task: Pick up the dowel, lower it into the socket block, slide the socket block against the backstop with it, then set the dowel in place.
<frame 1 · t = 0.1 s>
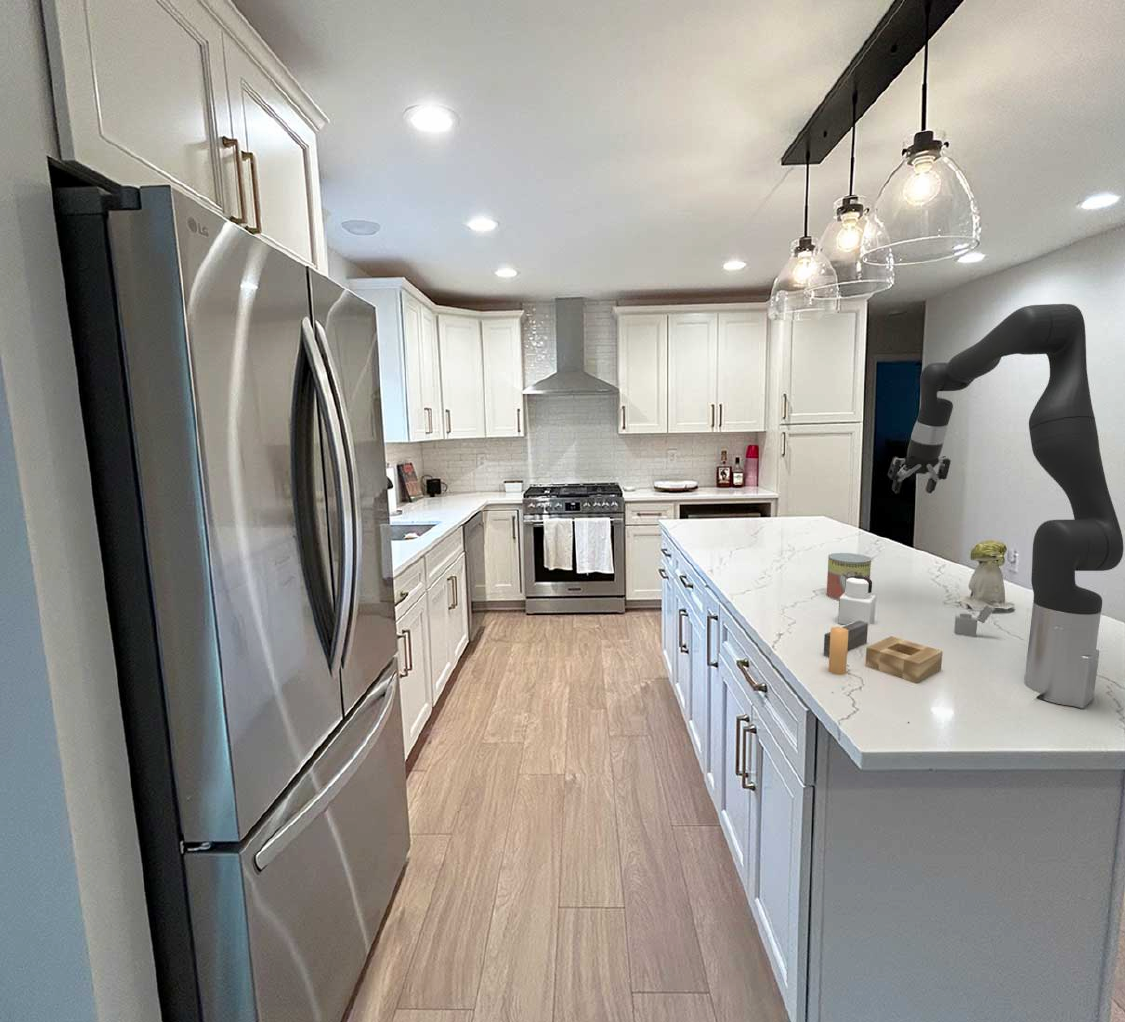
hand: (912, 492, 154), 31 cm above the countertop, tool tilted 20°, fingers open, 8 cm apart
lighter: (972, 636, 132), on the countertop
socket block: (903, 658, 113), point 3 cm above the countertop, slide at 0.0 cm
canned food: (847, 597, 164), on the countertop
mushroom: (984, 606, 153), on the countertop
dowel: (836, 676, 113), on the countertop
backstop: (882, 666, 117), on the countertop
medicine bottle: (856, 623, 142), on the countertop
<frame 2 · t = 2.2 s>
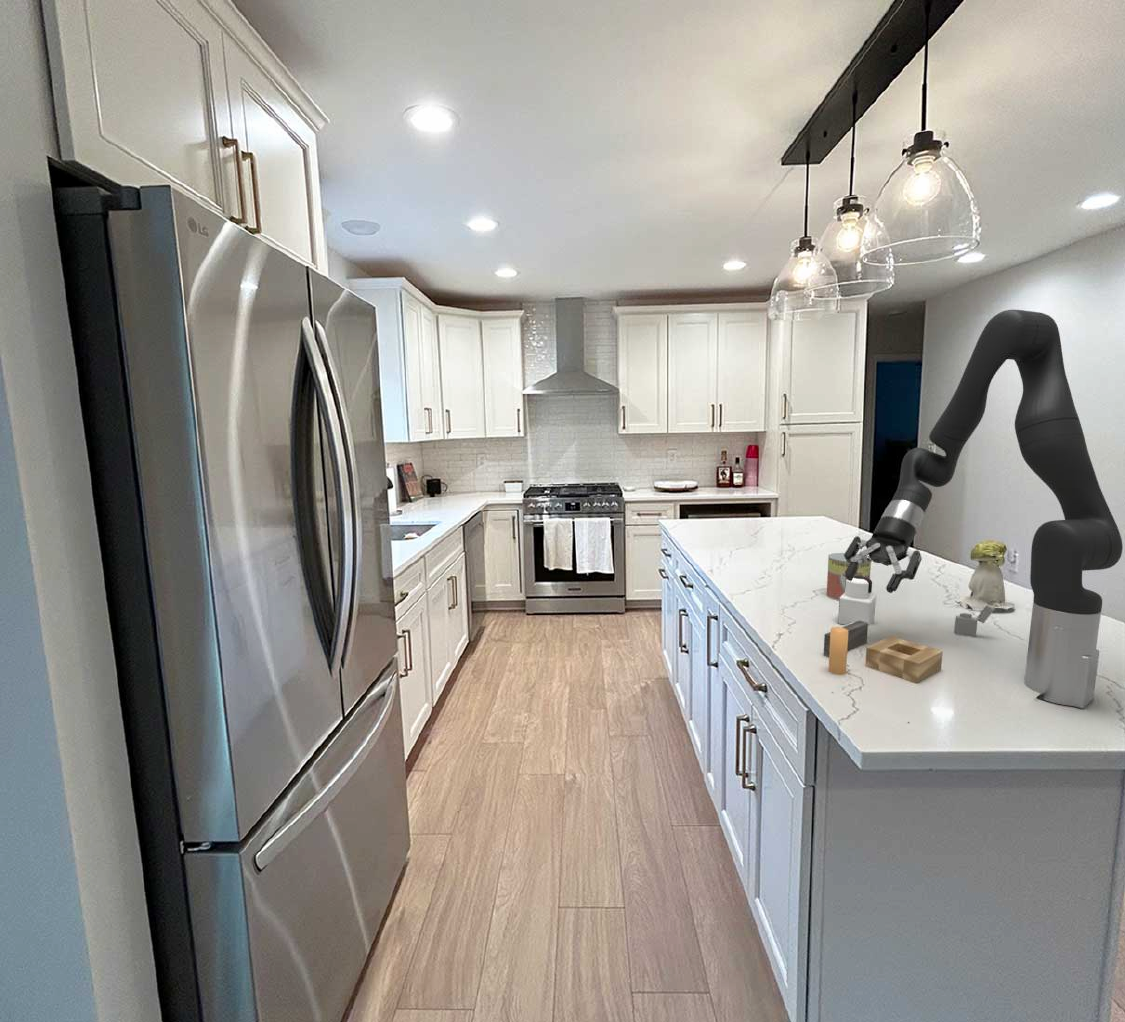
hand: (868, 584, 121), 16 cm above the countertop, tool tilted 40°, fingers open, 8 cm apart
nothing on the countertop moved.
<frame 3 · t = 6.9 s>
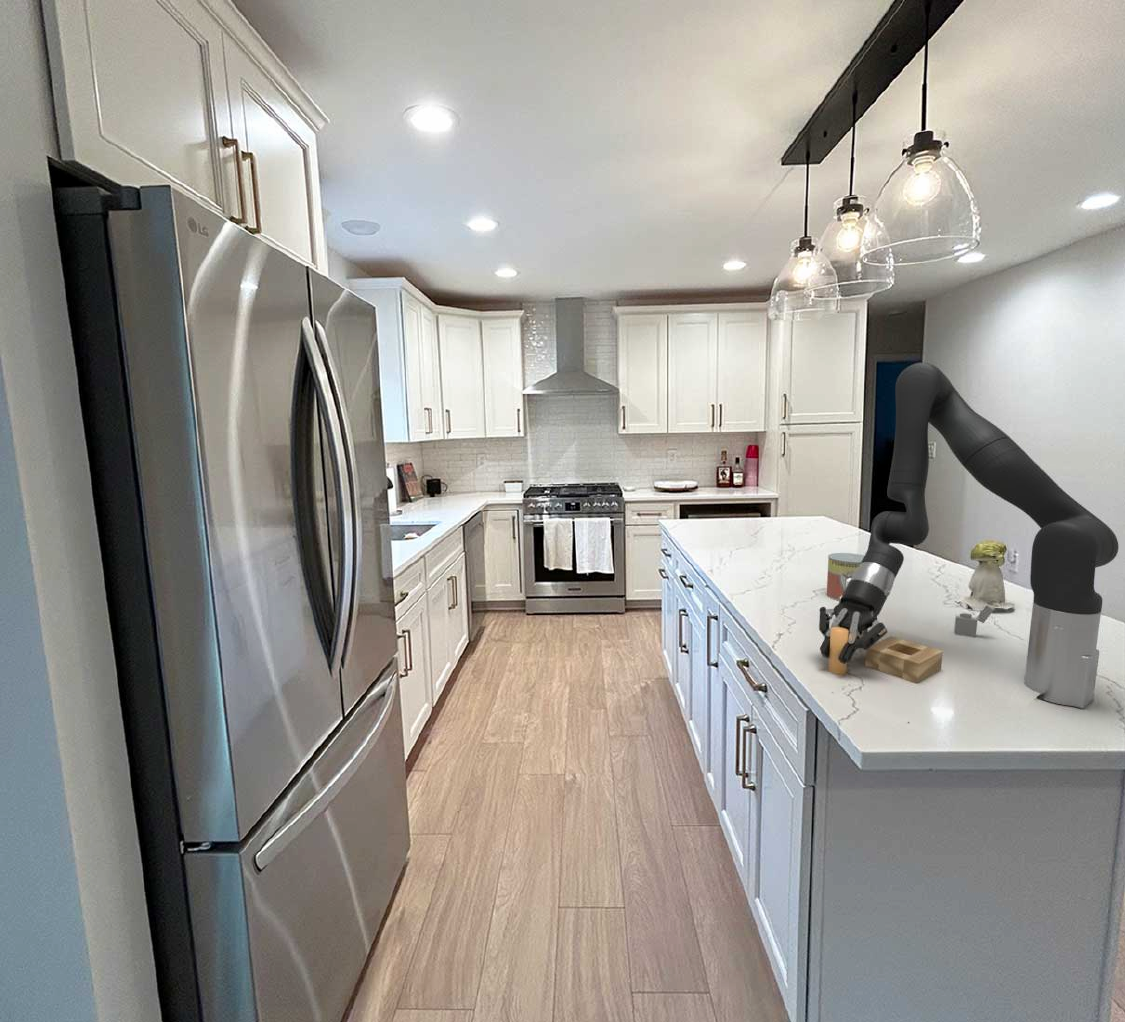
hand: (832, 658, 111), 4 cm above the countertop, tool tilted 45°, fingers closed on dowel, 3 cm apart
dowel: (837, 676, 113), on the countertop, touching gripper
everything else where it was.
when the fingers open (7 cm above the countertop, at t = 14.6 s): dowel stays where it is, resting on socket block.
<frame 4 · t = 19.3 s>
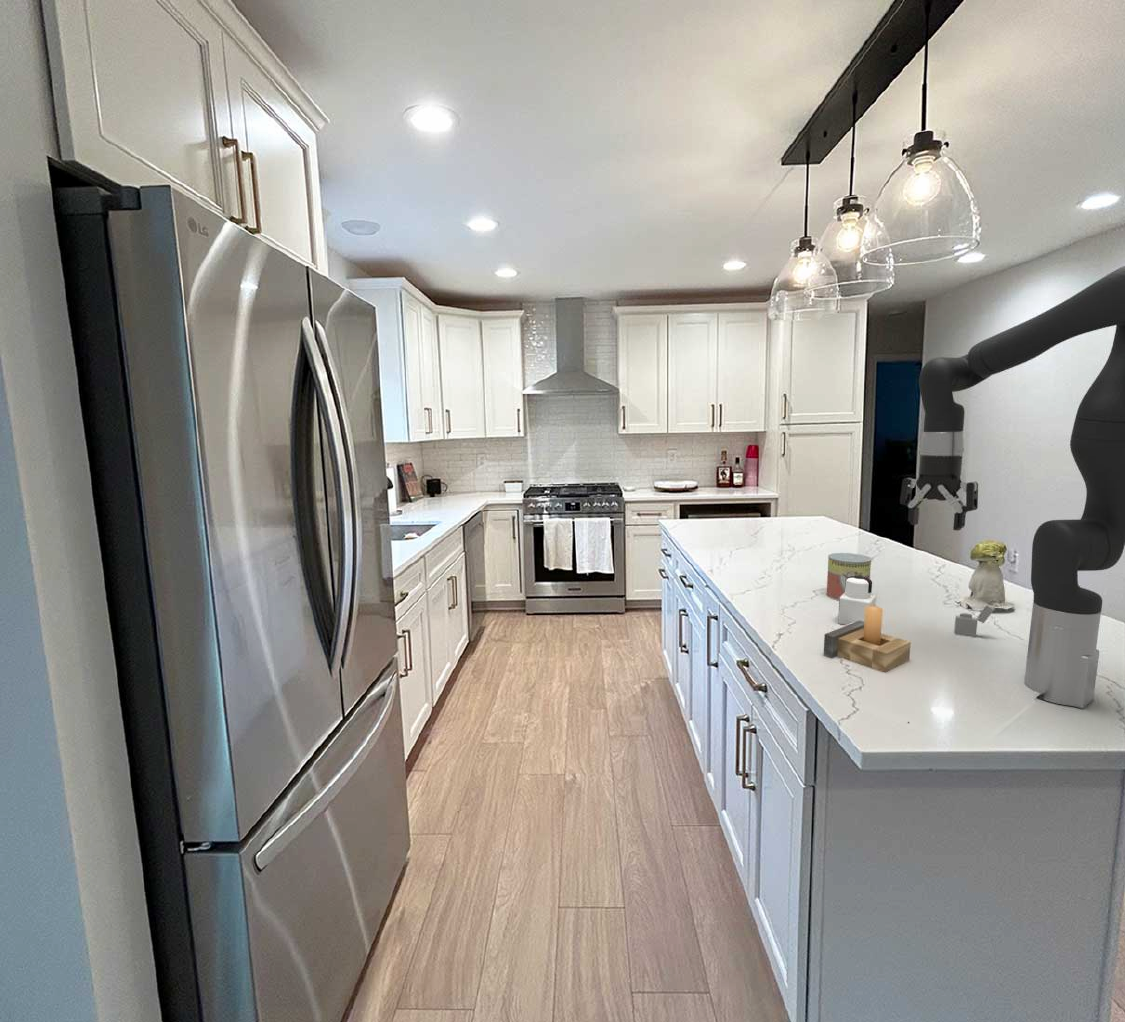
hand: (935, 527, 121), 28 cm above the countertop, tool pointing down, fingers open, 8 cm apart
socket block: (873, 649, 118), point 3 cm above the countertop, slide at 6.0 cm, touching dowel
dowel: (871, 652, 119), point 2 cm above the countertop, touching socket block
everything else where it was.
at the end: socket block slide at 6.0 cm; dowel 0.4 cm off-centre on the socket block, point 1.0 cm above the socket block's base; the gripper is holding nothing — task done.
